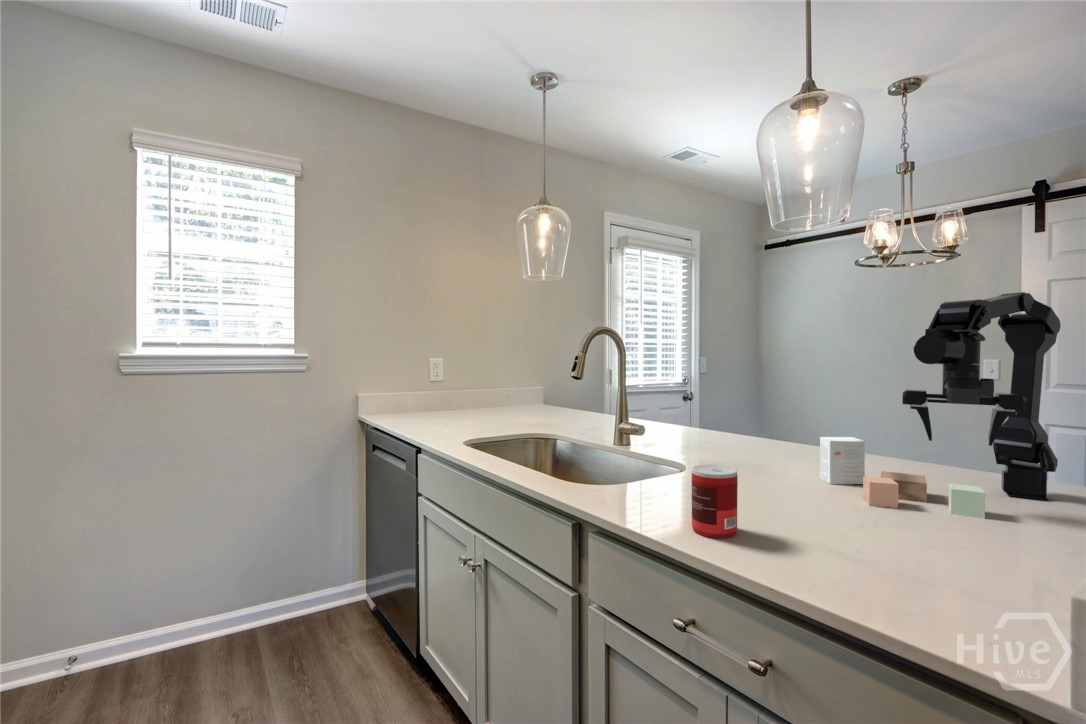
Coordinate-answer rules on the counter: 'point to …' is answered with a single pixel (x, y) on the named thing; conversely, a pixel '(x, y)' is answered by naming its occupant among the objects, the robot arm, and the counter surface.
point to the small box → (842, 460)
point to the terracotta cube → (880, 492)
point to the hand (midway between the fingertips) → (959, 443)
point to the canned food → (714, 501)
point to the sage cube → (967, 500)
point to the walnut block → (909, 485)
